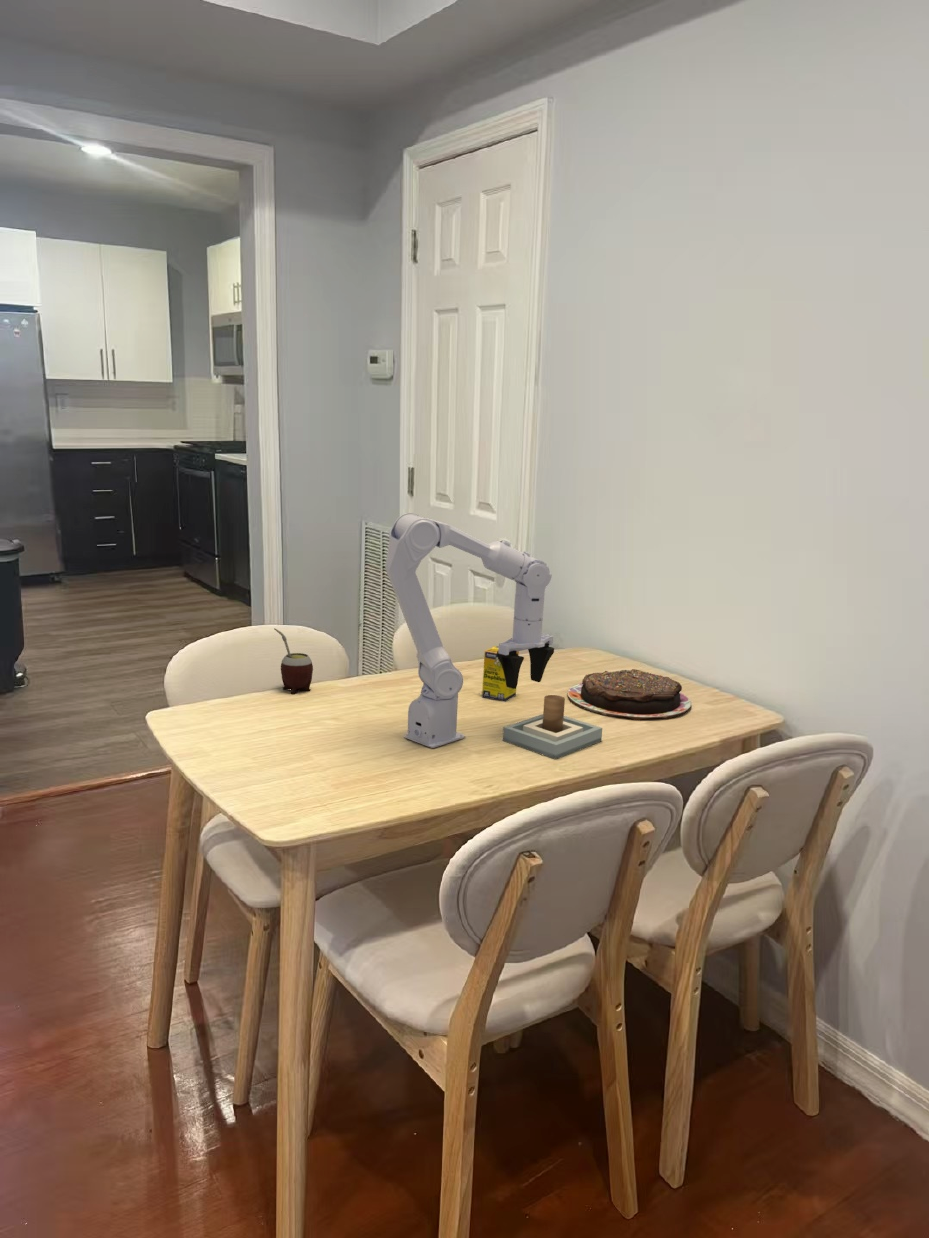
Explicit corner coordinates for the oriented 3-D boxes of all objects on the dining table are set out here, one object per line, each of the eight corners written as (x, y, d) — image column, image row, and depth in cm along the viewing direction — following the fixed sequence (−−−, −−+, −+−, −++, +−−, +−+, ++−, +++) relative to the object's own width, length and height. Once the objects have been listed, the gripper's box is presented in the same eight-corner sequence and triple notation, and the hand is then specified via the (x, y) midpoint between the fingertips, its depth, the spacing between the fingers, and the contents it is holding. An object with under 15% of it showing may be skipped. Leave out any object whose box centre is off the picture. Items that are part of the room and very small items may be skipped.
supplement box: (481, 697, 205) (483, 650, 203) (493, 691, 210) (495, 645, 208) (505, 702, 202) (508, 654, 200) (516, 695, 208) (519, 649, 205)
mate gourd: (316, 686, 207) (316, 622, 204) (306, 697, 199) (307, 630, 196) (284, 684, 208) (284, 620, 204) (273, 694, 200) (273, 628, 197)
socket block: (556, 747, 173) (557, 736, 173) (522, 736, 179) (523, 725, 178) (582, 738, 179) (583, 727, 179) (548, 727, 185) (549, 716, 184)
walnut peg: (552, 741, 176) (555, 702, 175) (537, 735, 179) (540, 697, 177) (566, 737, 179) (569, 699, 177) (551, 732, 182) (554, 693, 180)
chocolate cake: (541, 698, 208) (543, 670, 207) (615, 678, 227) (618, 653, 226) (643, 731, 188) (645, 701, 187) (714, 707, 207) (717, 679, 206)
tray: (555, 759, 169) (556, 745, 169) (502, 740, 178) (503, 727, 177) (601, 741, 180) (602, 727, 180) (549, 724, 189) (550, 711, 188)
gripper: (519, 626, 171) (515, 695, 174) (566, 617, 182) (561, 682, 185) (492, 619, 176) (488, 686, 179) (539, 611, 186) (535, 674, 189)
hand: (523, 684), depth 182 cm, fingers open, 7 cm apart
